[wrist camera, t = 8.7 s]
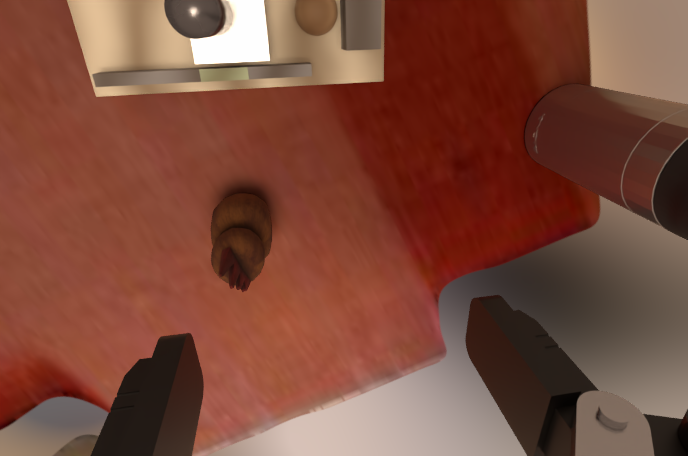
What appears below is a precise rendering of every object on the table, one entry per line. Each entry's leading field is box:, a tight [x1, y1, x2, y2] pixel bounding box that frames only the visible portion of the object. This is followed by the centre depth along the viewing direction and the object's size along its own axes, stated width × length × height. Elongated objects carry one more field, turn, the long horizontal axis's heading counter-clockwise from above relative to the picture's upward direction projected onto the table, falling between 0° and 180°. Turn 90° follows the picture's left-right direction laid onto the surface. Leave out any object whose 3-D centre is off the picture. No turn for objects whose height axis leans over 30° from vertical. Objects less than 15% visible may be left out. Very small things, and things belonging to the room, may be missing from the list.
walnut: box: [295, 0, 338, 36], centre depth 33 cm, size 4×4×4 cm
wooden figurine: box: [211, 193, 272, 292], centre depth 37 cm, size 7×6×15 cm
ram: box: [164, 0, 270, 64], centre depth 29 cm, size 6×7×12 cm
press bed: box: [67, 0, 385, 97], centre depth 33 cm, size 26×12×4 cm, turn 91°
